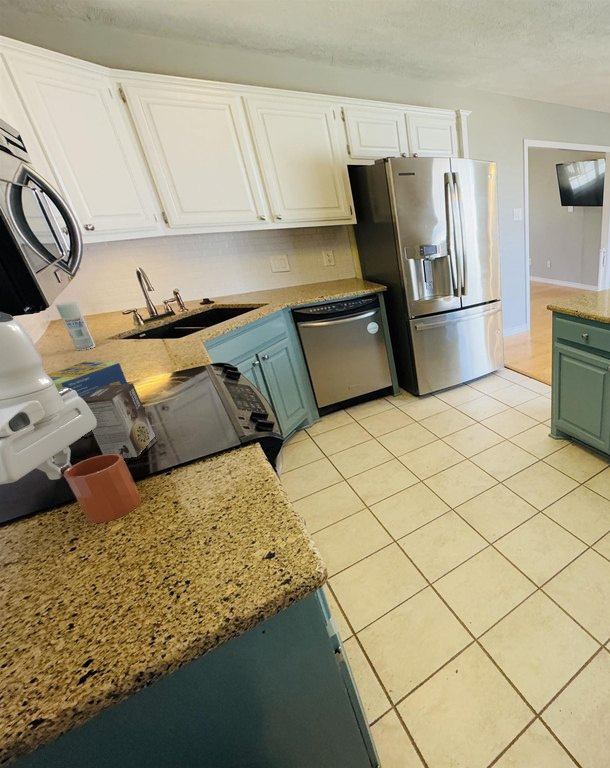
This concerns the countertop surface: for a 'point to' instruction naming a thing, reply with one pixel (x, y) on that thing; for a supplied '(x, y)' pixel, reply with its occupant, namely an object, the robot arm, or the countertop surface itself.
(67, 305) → the spray can
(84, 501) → the cup
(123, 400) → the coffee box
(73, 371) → the protein box
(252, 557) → the countertop surface
